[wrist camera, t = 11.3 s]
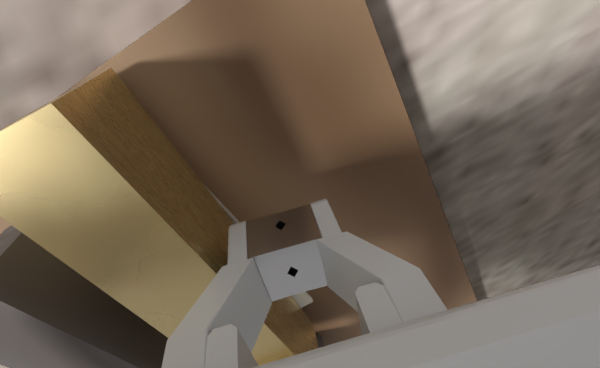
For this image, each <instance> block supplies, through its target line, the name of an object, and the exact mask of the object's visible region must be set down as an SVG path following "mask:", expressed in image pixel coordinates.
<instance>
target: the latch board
mask: <svg viewBox="0 0 600 368" xmlns="http://www.w3.org/2000/svg"><path fill="white" fill-rule="evenodd" d="M110 68H112V69H113V70H114V71H115V73H116V74H117V75H118V76H119V78H120V79H121V80H122V82H123V83H124V84H125V85H126V87H127V88H128V89H129V90H130V92H131V93H132V94H133V95H134V97H135V98H136V99H137V101H138V102H139V103H140V104H141V106H142V107H143V108H144V109H145V111H146V112H147V113H148V114H149V116H150V117H151V118H152V120H153V121H154V122H155V123H156V125H157V126H158V127H159V128H160V130H161V131H162V132H163V133H164V135H165V136H166V137H167V139H168V140H169V141H170V142H171V144H172V145H173V146H174V147H175V149H176V150H177V151H178V152H179V154H180V155H181V156H182V158H183V159H184V160H185V161H186V163H187V164H188V165H189V166H190V168H191V169H192V170H193V171H194V173H195V174H196V175H197V177H198V178H199V179H200V180H201V182H202V183H203V184H204V185H205V187H206V188H207V189H208V190H209V192H210V193H211V194H212V196H213V197H214V198H215V199H216V201H217V202H218V203H219V204H220V206H221V207H222V208H223V209H224V211H225V212H226V213H227V215H228V216H229V217H230V218H231V220H232V221H233V222H234V223H235V224H236V223H239V222H243V221H247V220H251V219H254V218H258V217H262V216H266V215H270V214H274V213H278V212H283V211H286V210H290V209H293V208H297V207H300V206H304V205H308V204H310V203H312V202H315V201H319V200H322V199H327V200H328V203H329V205H330V207H331V209H332V211H333V214H334V216H335V218H336V220H337V223H338V225H339V227H340V229H341V231H342V232H346V231H347V232H349V233H351V234H353V235H355V236H357V237H359V238H361V239H363V240H365V241H367V242H369V243H371V244H373V245H375V246H377V247H379V248H381V249H383V250H385V251H387V252H389V253H391V254H393V255H395V256H397V257H399V258H401V259H403V260H405V261H407V262H409V263H410V264H412V265H414V266H416V267H418V268H420V269H421V271H422V272H423V274H424V275H425V277H426V278H427V280H428V281H429V283H430V284H431V286H432V287H433V289H434V290H435V292H436V293H437V295H438V296H439V298H440V299H441V301H442V302H443V304H444V305H445V306H446V308H447V309H451V308H455V307H458V306H462V305H465V304H468V303H472V302H475V301H477V299H476V297H475V294H474V291H473V289H472V286H471V283H470V281H469V278H468V275H467V273H466V270H465V267H464V265H463V262H462V259H461V257H460V254H459V251H458V248H457V246H456V243H455V240H454V238H453V235H452V232H451V230H450V227H449V224H448V222H447V219H446V216H445V214H444V211H443V208H442V206H441V203H440V200H439V198H438V195H437V192H436V189H435V187H434V184H433V181H432V179H431V176H430V173H429V171H428V168H427V165H426V163H425V160H424V157H423V155H422V152H421V149H420V147H419V144H418V141H417V139H416V136H415V133H414V131H413V128H412V125H411V122H410V120H409V117H408V114H407V112H406V109H405V106H404V104H403V101H402V98H401V96H400V93H399V90H398V88H397V85H396V82H395V80H394V77H393V74H392V72H391V69H390V66H389V63H388V61H387V58H386V55H385V53H384V50H383V47H382V45H381V42H380V39H379V37H378V34H377V31H376V29H375V26H374V23H373V21H372V18H371V15H370V13H369V10H368V7H367V5H366V2H365V0H192V1H190V2H189V3H188V4H186V5H185V6H183V7H182V8H181V9H179V10H178V11H176V12H175V13H174V14H172V15H171V16H170V17H168V18H167V19H165V20H164V21H163V22H161V23H160V24H158V25H157V26H156V27H154V28H153V29H152V30H150V31H149V32H147V33H146V34H145V35H143V36H142V37H140V38H139V39H138V40H136V41H135V42H133V43H132V44H131V45H129V46H128V47H127V48H125V49H124V50H122V51H121V52H120V53H118V54H117V55H115V56H114V57H113V58H111V59H110V60H109V61H107V62H106V63H104V64H103V65H102V66H100V67H99V68H97V69H96V70H95V71H93V72H92V73H91V74H89V75H88V76H86V77H85V78H84V79H82V80H81V81H79V82H78V83H77V84H75V85H74V86H72V87H71V88H70V89H68V90H67V91H66V92H64V93H63V94H65V93H67V92H68V91H70V90H72V89H74V88H76V87H77V86H79V85H81V84H83V83H85V82H86V81H88V80H90V79H92V78H94V77H95V76H97V75H99V74H101V73H103V72H104V71H106V70H108V69H110ZM63 94H61V95H63ZM61 95H60V96H61ZM57 98H58V97H57ZM291 296H292V297H293V298H294V299H295V301H296V302H297V303H298V305H299V306H300V307H301V308H302V310H303V311H304V312H305V313H306V315H307V316H308V317H309V318H310V320H311V321H312V322H313V326H314V330H315V334H316V338H317V342H318V346H319V348H321V347H324V346H327V345H331V344H334V343H337V342H341V341H344V340H348V339H351V338H354V337H358V336H361V335H362V333H361V327H360V321H359V315H358V312H357V311H356V310H355V309H354V308H352V307H351V306H350V305H349V304H348V303H347V302H345V301H344V300H343V299H342V298H341V297H339V296H338V295H337V294H336V293H335V292H334V291H332V290H331V289H330V288H329V287H328V286H324V287H320V288H317V289H313V290H309V291H305V292H301V293H298V294H294V295H291ZM168 339H169V338H168V337H166V336H165V335H164V334H162V333H161V332H159V331H158V330H157V329H155V328H154V327H152V326H151V325H150V324H148V323H147V322H145V321H144V320H143V319H141V318H140V317H139V316H137V315H136V314H134V313H133V312H132V311H130V310H129V309H127V308H126V307H125V306H123V305H122V304H120V303H119V302H118V301H116V300H115V299H114V298H112V297H111V296H109V295H108V294H107V293H105V292H104V291H102V290H101V289H100V288H98V287H97V286H95V285H94V284H93V283H91V282H90V281H89V280H87V279H86V278H84V277H83V276H82V275H80V274H79V273H77V272H76V271H75V270H73V269H72V268H71V267H69V266H68V265H66V264H65V263H64V262H62V261H61V260H59V259H58V258H57V257H55V256H54V255H52V254H51V253H50V252H48V251H47V250H46V249H44V248H43V247H41V246H40V245H39V244H37V243H36V242H34V241H33V240H32V239H30V238H29V237H27V236H26V235H25V234H23V233H22V232H21V231H19V230H18V229H16V228H15V227H14V226H12V225H11V224H9V223H8V222H7V221H5V220H4V219H3V218H1V217H0V364H1V365H4V366H6V367H9V368H161V367H162V362H163V357H164V352H165V347H166V343H167V340H168Z"/></svg>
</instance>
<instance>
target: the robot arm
mask: <svg viewBox="0 0 600 368" xmlns="http://www.w3.org/2000/svg"><path fill="white" fill-rule="evenodd" d="M324 286H328V287H329V288H330V289H331V290H332V291H334V292H335V293H336V294H337V295H338V296H339V297H341V298H342V299H343V300H344V301H345V302H347V303H348V304H349V305H350V306H351V307H352V308H354V309H355V310H356V311H357V312H358V315H359V321H360V327H361V333H362V335H361V336H358V337H354V338H351V339H348V340H344V341H341V342H337V343H334V344H331V345H327V346H324V347H321V348H317V349H314V350H310V351H307V352H304V353H300V354H297V355H294V356H290V357H287V358H283V359H280V360H277V361H273V362H270V363H267V364H263V365H260V366H258V364H257V362H256V361H255V359H254V357H253V355H252V350H253V348H254V345H255V343H256V341H257V338H258V336H259V333H260V331H261V329H262V326H263V324H264V321H265V319H266V317H267V314H268V312H269V309H270V307H271V304H272V303H271V302H273V301H276V300H279V299H282V298H285V297H288V296H291V295H294V294H298V293H301V292H305V291H309V290H313V289H317V288H320V287H324ZM161 368H600V265H596V266H593V267H590V268H586V269H583V270H580V271H576V272H573V273H569V274H566V275H563V276H559V277H556V278H553V279H549V280H546V281H542V282H539V283H536V284H532V285H529V286H526V287H522V288H519V289H516V290H512V291H509V292H505V293H502V294H499V295H495V296H492V297H489V298H485V299H482V300H478V301H475V302H472V303H468V304H465V305H462V306H458V307H455V308H451V309H447V308H446V306H445V305H444V304H443V302H442V301H441V299H440V298H439V296H438V295H437V293H436V292H435V290H434V289H433V287H432V286H431V284H430V283H429V281H428V280H427V278H426V277H425V275H424V274H423V272H422V271H421V269H420V268H418V267H416V266H414V265H412V264H410V263H409V262H407V261H405V260H403V259H401V258H399V257H397V256H395V255H393V254H391V253H389V252H387V251H385V250H383V249H381V248H379V247H377V246H375V245H373V244H371V243H369V242H367V241H365V240H363V239H361V238H359V237H357V236H355V235H353V234H351V233H349V232H347V231H346V232H342V231H341V229H340V227H339V225H338V223H337V220H336V218H335V216H334V214H333V211H332V209H331V207H330V205H329V203H328V200H327V199H322V200H319V201H315V202H312V203H310V204H308V205H304V206H300V207H297V208H293V209H290V210H286V211H283V212H278V213H274V214H270V215H266V216H262V217H258V218H254V219H251V220H247V221H243V222H239V223H236V224H232V225H230V227H229V230H228V261H227V265H226V266H222V268H221V269H220V270H219V272H218V273H217V274H216V276H215V277H214V278H213V280H212V281H211V282H210V284H209V285H208V286H207V288H206V289H205V290H204V292H203V293H202V294H201V296H200V297H199V298H198V300H197V301H196V302H195V304H194V305H193V306H192V308H191V309H190V310H189V312H188V313H187V314H186V316H185V317H184V319H183V320H182V321H181V323H180V324H179V325H178V327H177V328H176V329H175V331H174V332H173V333H172V335H171V336H170V337H169V339H168V340H167V343H166V347H165V352H164V357H163V362H162V367H161Z"/></svg>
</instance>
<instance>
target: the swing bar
mask: <svg viewBox="0 0 600 368" xmlns="http://www.w3.org/2000/svg"><path fill="white" fill-rule="evenodd" d="M0 217H1V218H3V219H4V220H5V221H7V222H8V223H9V224H11V225H12V226H14V227H15V228H16V229H18V230H19V231H21V232H22V233H23V234H25V235H26V236H27V237H29V238H30V239H32V240H33V241H34V242H36V243H37V244H39V245H40V246H41V247H43V248H44V249H46V250H47V251H48V252H50V253H51V254H52V255H54V256H55V257H57V258H58V259H59V260H61V261H62V262H64V263H65V264H66V265H68V266H69V267H71V268H72V269H73V270H75V271H76V272H77V273H79V274H80V275H82V276H83V277H84V278H86V279H87V280H89V281H90V282H91V283H93V284H94V285H95V286H97V287H98V288H100V289H101V290H102V291H104V292H105V293H107V294H108V295H109V296H111V297H112V298H114V299H115V300H116V301H118V302H119V303H120V304H122V305H123V306H125V307H126V308H127V309H129V310H130V311H132V312H133V313H134V314H136V315H137V316H139V317H140V318H141V319H143V320H144V321H145V322H147V323H148V324H150V325H151V326H152V327H154V328H155V329H157V330H158V331H159V332H161V333H162V334H164V335H165V336H166V337H168V338H169V337H170V336H171V335H172V333H173V332H174V331H175V329H176V328H177V327H178V325H179V324H180V323H181V321H182V320H183V319H184V317H185V316H186V314H187V313H188V312H189V310H190V309H191V308H192V306H193V305H194V304H195V302H196V301H197V300H198V298H199V297H200V296H201V294H202V293H203V292H204V290H205V289H206V288H207V286H208V285H209V284H210V282H211V281H212V280H213V278H214V277H215V276H216V274H217V273H218V272H219V270H220V269H221V268H222V266H226V265H227V261H228V230H229V227H230V225H232V224H235V223H234V222H233V221H232V220H231V218H230V217H229V216H228V215H227V213H226V212H225V211H224V209H223V208H222V207H221V206H220V204H219V203H218V202H217V201H216V199H215V198H214V197H213V196H212V194H211V193H210V192H209V190H208V189H207V188H206V187H205V185H204V184H203V183H202V182H201V180H200V179H199V178H198V177H197V175H196V174H195V173H194V171H193V170H192V169H191V168H190V166H189V165H188V164H187V163H186V161H185V160H184V159H183V158H182V156H181V155H180V154H179V152H178V151H177V150H176V149H175V147H174V146H173V145H172V144H171V142H170V141H169V140H168V139H167V137H166V136H165V135H164V133H163V132H162V131H161V130H160V128H159V127H158V126H157V125H156V123H155V122H154V121H153V120H152V118H151V117H150V116H149V114H148V113H147V112H146V111H145V109H144V108H143V107H142V106H141V104H140V103H139V102H138V101H137V99H136V98H135V97H134V95H133V94H132V93H131V92H130V90H129V89H128V88H127V87H126V85H125V84H124V83H123V82H122V80H121V79H120V78H119V76H118V75H117V74H116V73H115V71H114V70H113V69H112V68H110V69H108V70H106V71H104V72H103V73H101V74H99V75H97V76H95V77H94V78H92V79H90V80H88V81H86V82H85V83H83V84H81V85H79V86H77V87H76V88H74V89H72V90H70V91H68V92H67V93H65V94H63V95H61V96H59V97H58V98H56V99H54V100H52V101H50V102H49V103H47V104H45V105H43V106H41V107H40V108H38V109H36V110H34V111H32V112H31V113H29V114H27V115H25V116H24V117H22V118H20V119H18V120H17V121H15V122H13V123H12V124H10V125H8V126H6V127H5V128H3V129H1V130H0ZM271 303H272V304H271V307H270V309H269V312H268V314H267V317H266V319H265V321H264V324H263V326H262V329H261V331H260V333H259V336H258V338H257V341H256V343H255V345H254V348H253V350H252V355H253V357H254V359H255V361H256V362H257V364H258V366H260V365H263V364H267V363H270V362H273V361H277V360H280V359H283V358H287V357H290V356H294V355H297V354H300V353H304V352H307V351H310V350H314V349H317V348H319V346H318V342H317V338H316V334H315V330H314V326H313V322H312V321H311V320H310V318H309V317H308V316H307V315H306V313H305V312H304V311H303V310H302V308H301V307H300V306H299V305H298V303H297V302H296V301H295V299H294V298H293V297H292V296H288V297H285V298H282V299H279V300H276V301H273V302H271Z"/></svg>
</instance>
